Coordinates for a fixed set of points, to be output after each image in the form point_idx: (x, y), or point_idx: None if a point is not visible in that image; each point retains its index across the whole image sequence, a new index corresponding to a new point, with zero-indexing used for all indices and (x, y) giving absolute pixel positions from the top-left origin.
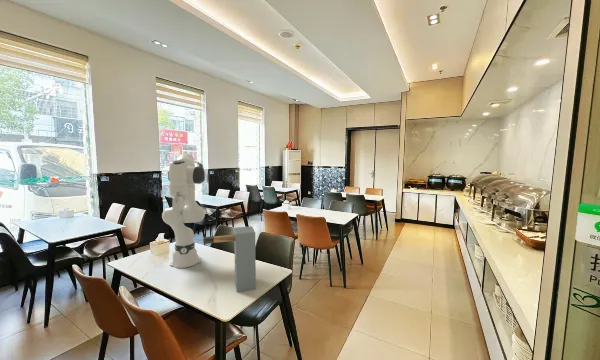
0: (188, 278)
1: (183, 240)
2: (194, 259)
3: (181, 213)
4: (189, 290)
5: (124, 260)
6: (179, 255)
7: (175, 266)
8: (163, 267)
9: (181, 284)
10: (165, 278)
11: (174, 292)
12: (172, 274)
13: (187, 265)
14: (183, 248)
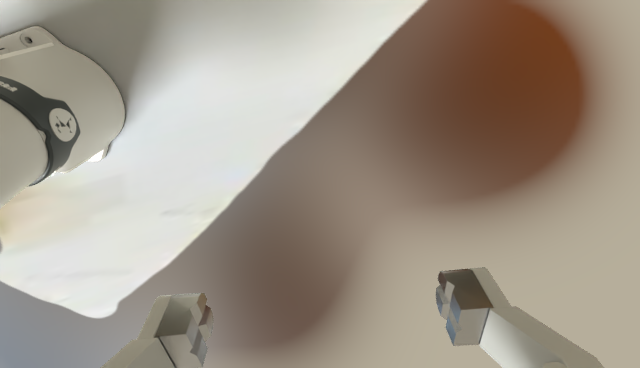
0: (227, 52)
1: (16, 152)
2: (57, 58)
3: (197, 323)
4: (336, 25)
5: (75, 301)
6: (83, 136)
7: (116, 134)
8: (121, 176)
9: (278, 70)
10: (220, 142)
11: (337, 81)
12: (186, 127)
13: (107, 83)
14: (57, 131)
